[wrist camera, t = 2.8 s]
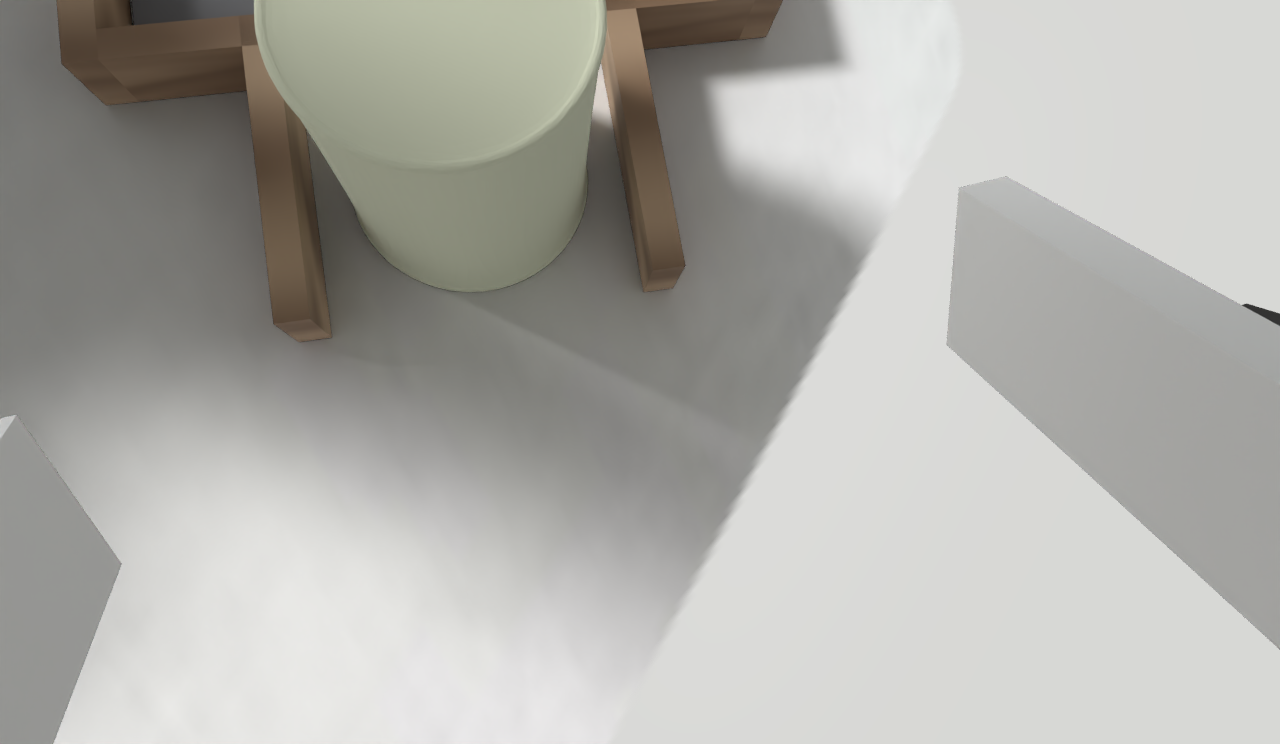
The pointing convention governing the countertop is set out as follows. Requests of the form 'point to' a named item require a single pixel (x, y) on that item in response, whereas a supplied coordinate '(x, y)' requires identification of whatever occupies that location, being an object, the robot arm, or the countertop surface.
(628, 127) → the channel
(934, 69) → the countertop surface
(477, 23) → the can
